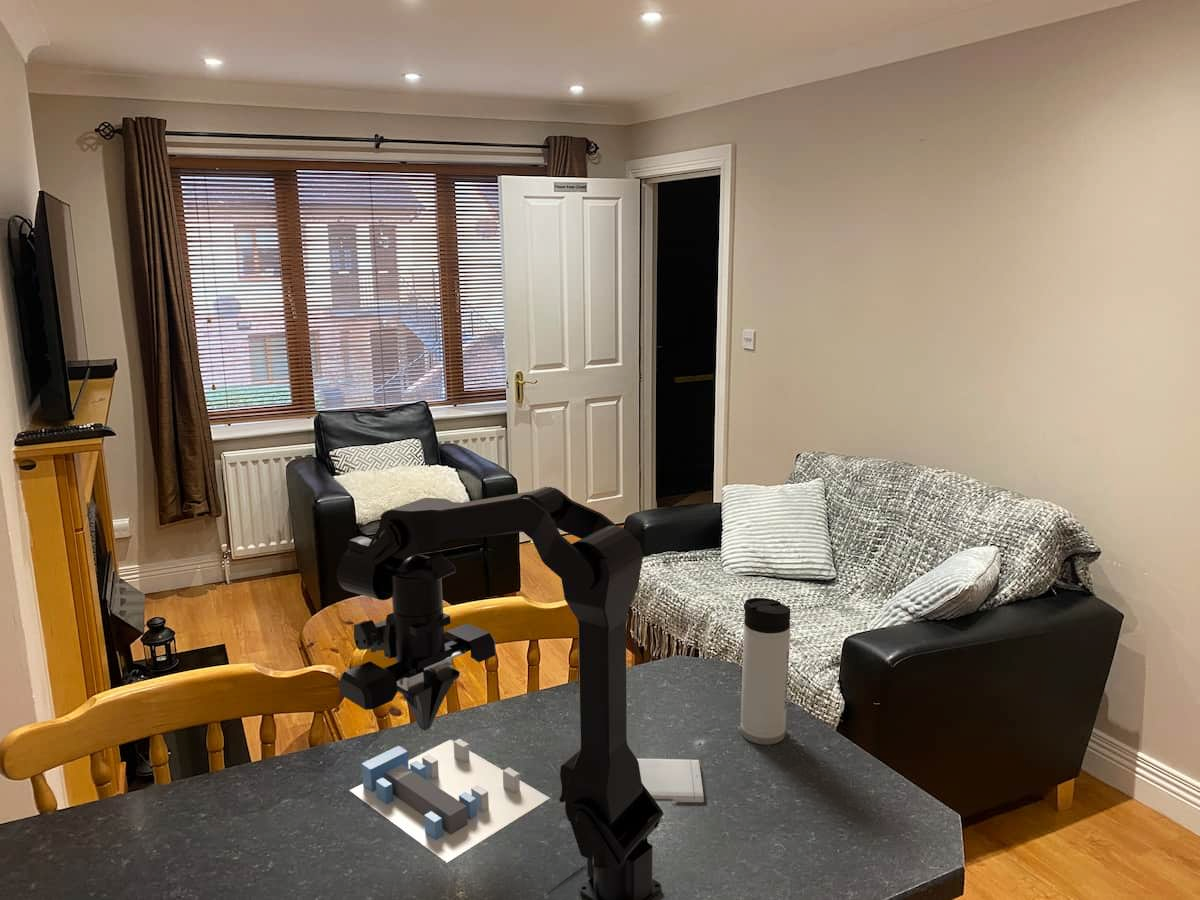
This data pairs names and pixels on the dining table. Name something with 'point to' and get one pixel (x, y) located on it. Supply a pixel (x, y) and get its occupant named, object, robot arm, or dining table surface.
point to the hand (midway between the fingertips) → (424, 728)
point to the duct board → (462, 777)
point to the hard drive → (672, 779)
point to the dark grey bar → (427, 798)
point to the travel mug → (765, 670)
